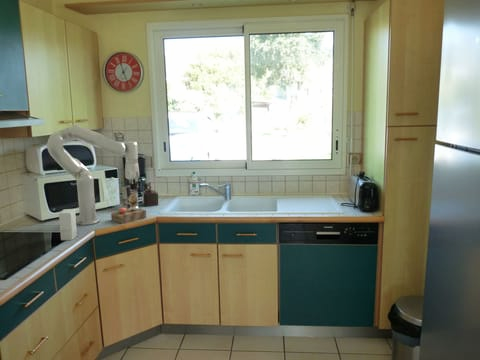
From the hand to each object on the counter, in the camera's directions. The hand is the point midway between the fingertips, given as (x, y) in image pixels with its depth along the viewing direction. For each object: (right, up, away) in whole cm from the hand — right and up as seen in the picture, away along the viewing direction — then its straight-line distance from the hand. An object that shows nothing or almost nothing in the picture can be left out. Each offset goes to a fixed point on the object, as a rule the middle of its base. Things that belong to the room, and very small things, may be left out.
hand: (133, 189), depth 258 cm
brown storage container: (+3, -13, +37) cm, 39 cm away
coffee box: (-10, -14, +29) cm, 34 cm away
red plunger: (-6, -17, -4) cm, 18 cm away
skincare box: (-26, -26, -37) cm, 52 cm away
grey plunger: (0, -16, +3) cm, 17 cm away
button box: (-3, -19, 0) cm, 19 cm away
